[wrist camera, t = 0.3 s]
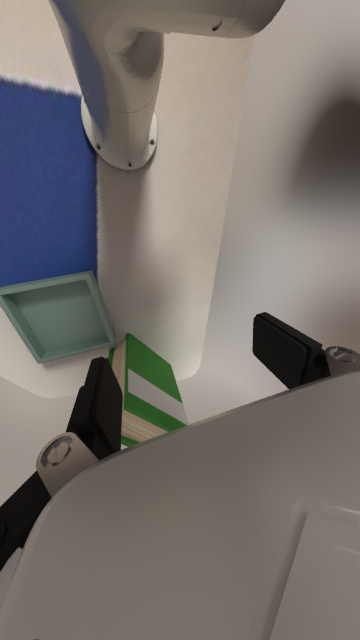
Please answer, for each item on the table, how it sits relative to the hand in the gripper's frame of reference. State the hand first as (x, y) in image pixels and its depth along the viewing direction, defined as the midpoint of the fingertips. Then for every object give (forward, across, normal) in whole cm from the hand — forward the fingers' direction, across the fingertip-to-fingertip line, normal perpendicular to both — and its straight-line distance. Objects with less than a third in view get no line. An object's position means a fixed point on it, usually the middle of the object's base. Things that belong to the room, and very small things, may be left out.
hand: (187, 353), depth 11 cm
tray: (+36, +21, +8) cm, 43 cm away
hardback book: (+37, +7, +26) cm, 45 cm away
